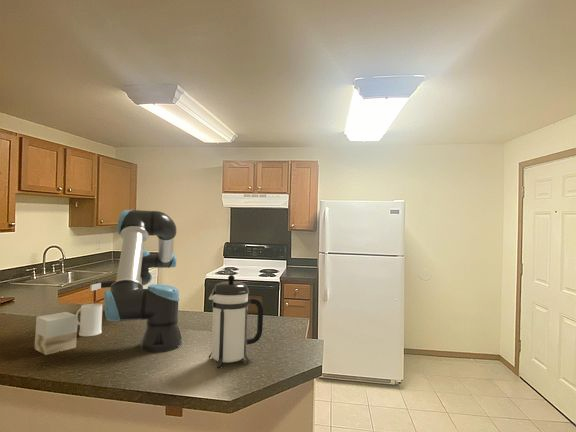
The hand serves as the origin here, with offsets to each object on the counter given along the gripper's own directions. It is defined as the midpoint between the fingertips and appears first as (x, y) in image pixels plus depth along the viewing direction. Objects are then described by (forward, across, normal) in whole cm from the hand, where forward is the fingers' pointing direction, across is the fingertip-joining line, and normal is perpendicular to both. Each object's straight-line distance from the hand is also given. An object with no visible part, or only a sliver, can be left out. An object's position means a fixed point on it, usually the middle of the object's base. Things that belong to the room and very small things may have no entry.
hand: (104, 288), depth 155 cm
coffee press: (+29, -69, -17) cm, 77 cm away
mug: (+10, 0, -18) cm, 20 cm away
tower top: (+29, -1, -11) cm, 31 cm away
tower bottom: (+29, -1, -17) cm, 34 cm away
